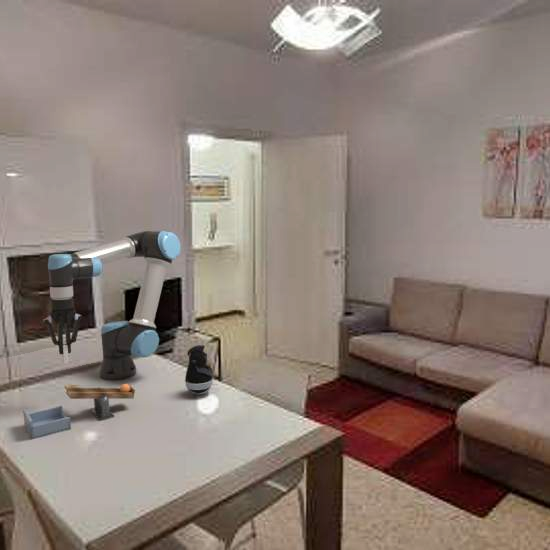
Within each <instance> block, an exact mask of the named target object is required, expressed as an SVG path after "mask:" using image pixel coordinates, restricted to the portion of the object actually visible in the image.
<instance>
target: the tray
mask: <svg viewBox="0 0 550 550" xmlns="http://www.w3.org/2000/svg"><path fill="white" fill-rule="evenodd" d="M22 411H23V422H24V427H25V429H26V431H27V433H28V436H29V437H30V439H31V440H34V439H38V438H42V437H46V436H49V435H50V436H51V435H53V433H54V434H56V432H58V433H61V432H64V430H65V431H68V430H71V429H72V427H71V417H70V416H67V415H66V414H65V413H64V411H63V406H62V405H60V406H55V407H50V408H47V409H46V408H45V409H42V410H38V411H33V412H29V411H28V410H27V408H23V409H22ZM60 431H61V432H60Z"/></svg>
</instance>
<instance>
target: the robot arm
mask: <svg viewBox="0 0 550 550" xmlns="http://www.w3.org/2000/svg"><path fill="white" fill-rule="evenodd" d="M180 253H181V242H180V240H179V237H178V236H177V235H176V234H175V233H173V232H170V231H165V230H163V231H156V230H153V231H152V230H145V231H140V232H136V233H132V234H129V235H126V236H123V237H121V238H120V239H119V240H117V241H113V242H110V243H105V244H102V245H98V246H95V247H91V248H87V249H85V250H80V251H77V252H73V253H70V254H69V253H68V254H67V253H58V254H57V253H56V254H51V255H50V256H48V262H47V269H48V276H49V277H48V279H49V293H50V294H49V295H50V298H51V299H50V313H49V316H48V317H45V318H43V322H44V323H45V325H46V326H47V329H48V331H49V336H50V338H51V341H52V343H53V345H55V346H58V352H59V354H60V355H62V357H61V358H62V363H63V364H64V365H65V364H69V362H70V361H69V354H71V353H72V344H74V343H76V342H77V337H78V334H79V328H80V323H81V321H82V320H83V316H82V315H81V314H79V313H76V309H75V301H74V300H75V299H74V298H73V297H74V285H73V284H74V282H73V281H76V280H81V279H82V280H83V279H88V278H89V279H90V278H95V277H96V278H97V277H98V276H100V275H101V273H102V271H103V265H104V264H107V263H111V262H115V261H118V260H121V259H124V258H126V259H133V258H143V259H144V261H145V263H146V265H145V269H144V273H143V277H142V280H141V281H142V282H141V285H140V290H139V293H138V298H137V301H136V305H135V310H134V314H133V316H132V317H133V318H132V319H130V320H129V321H128V320H119V321H118V320H117V321H113V322H108V323H105V324H103V325H102V326H101V331H100V336H101V346H102V349H101V350H102V362H101V365H100V368H99V376H100V378H101V379H104V380H105V381H107V380H108V381H118V380H124V379H129V378H131V377H133V376H134V375H136V374H137V365H136V364H135V361H134V360H133V357H135V358H142V359H143V358H148V357H150V356H151V355H153V354H154V353H155V352H156V350H157V348H158V346H159V343H160V337H159V334H158V333H157V332H156V330H157V326H156V324H155V318H156V313H157V310H158V307H159V303H160V298H161V294H162V289H163V287H164V286H163V285H164V282H165V276H166V271H167V268H169V267H170V266H172V263H173V260H175V259H177V257H179V255H180ZM52 320H53V321H54V322H55V323H56V327H57V329H56V330H57V337H56V334H55V331H54V328H53V325H52ZM73 320H74V323H73V328H72V334H71V322H72V321H73ZM63 325H64V328H65V329H64V330H65V333H64V331H63ZM63 333H64V334H65V343H64V334H63Z"/></svg>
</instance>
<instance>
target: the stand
mask: <svg viewBox="0 0 550 550" xmlns="http://www.w3.org/2000/svg"><path fill="white" fill-rule="evenodd" d="M98 388H101V387H100V386H99V387H98ZM93 404H94V407H92V408H89V409H90V412H91V413H92V414H93V415H94V416H95V418H97V420H98V421H99V422H101V421H105V420H109V419H112V418H115V415H114V413H112V412H111V411H110V400H109V398H108V395H103V396H100V399H93Z"/></svg>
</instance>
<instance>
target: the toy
mask: <svg viewBox="0 0 550 550" xmlns="http://www.w3.org/2000/svg"><path fill="white" fill-rule="evenodd" d="M205 347H206V345H204V344H198V345H195V346H192V347H190V348H189V349H188V351H187V356H188V365H187V369H186V372H185V378H184V382H185V383H184V384H185V387H186V388H187V390H188V391H189V392H190V393H192V394H195V395H203V394H206V393H208V392H209V391H210V390H211V388H212V386H213V384H214V383H213V381H214V376H213V375H214V370H213V368H212V364H213V363H212V361H210V360H209V359H208V353H207V352H205V351H204V349H205Z"/></svg>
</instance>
